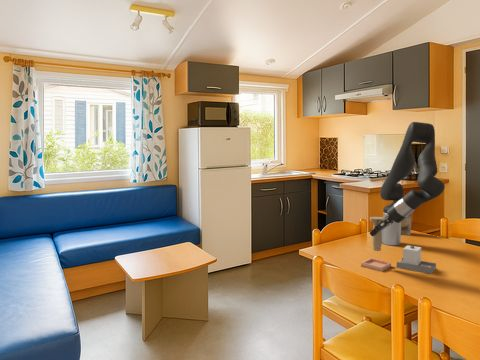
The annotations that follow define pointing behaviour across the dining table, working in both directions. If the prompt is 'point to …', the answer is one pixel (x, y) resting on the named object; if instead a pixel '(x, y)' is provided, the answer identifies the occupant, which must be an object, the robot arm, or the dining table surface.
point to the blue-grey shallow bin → (418, 266)
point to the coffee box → (406, 226)
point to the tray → (376, 264)
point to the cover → (412, 255)
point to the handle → (377, 237)
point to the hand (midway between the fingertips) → (372, 233)
